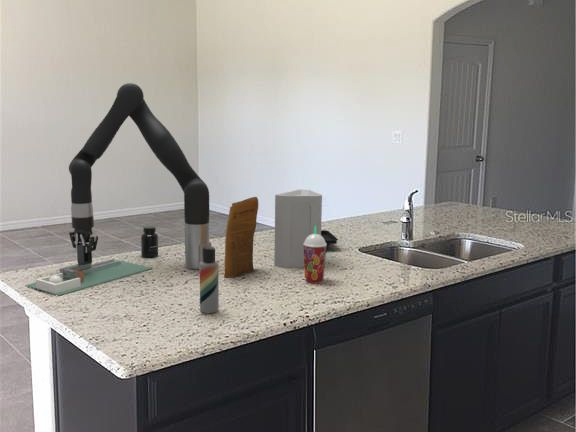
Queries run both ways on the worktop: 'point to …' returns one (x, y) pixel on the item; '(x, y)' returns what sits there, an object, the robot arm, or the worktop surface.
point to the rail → (96, 267)
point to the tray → (328, 237)
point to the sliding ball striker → (82, 264)
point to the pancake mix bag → (240, 237)
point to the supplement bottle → (149, 242)
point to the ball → (55, 279)
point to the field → (103, 276)
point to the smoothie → (314, 257)
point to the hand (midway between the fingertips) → (84, 260)
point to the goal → (59, 287)
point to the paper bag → (295, 225)
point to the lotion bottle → (209, 282)
